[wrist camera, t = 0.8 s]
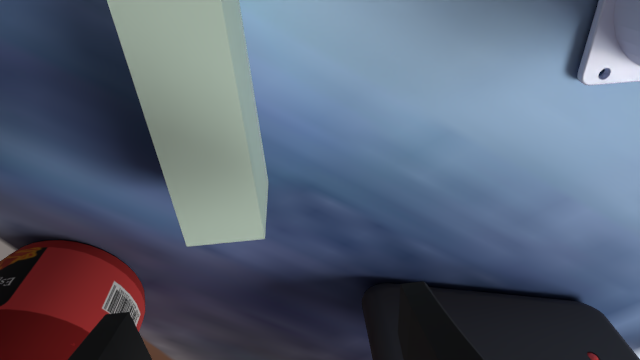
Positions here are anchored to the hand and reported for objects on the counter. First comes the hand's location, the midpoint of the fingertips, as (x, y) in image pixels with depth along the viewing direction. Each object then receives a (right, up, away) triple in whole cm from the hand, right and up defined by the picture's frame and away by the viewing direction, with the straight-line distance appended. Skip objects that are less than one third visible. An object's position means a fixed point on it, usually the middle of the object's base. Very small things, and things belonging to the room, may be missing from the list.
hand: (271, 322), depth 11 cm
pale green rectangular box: (-3, +8, +7) cm, 11 cm away
